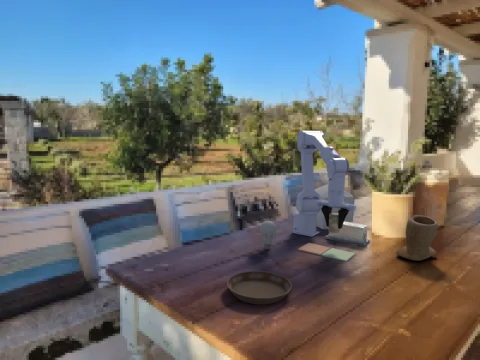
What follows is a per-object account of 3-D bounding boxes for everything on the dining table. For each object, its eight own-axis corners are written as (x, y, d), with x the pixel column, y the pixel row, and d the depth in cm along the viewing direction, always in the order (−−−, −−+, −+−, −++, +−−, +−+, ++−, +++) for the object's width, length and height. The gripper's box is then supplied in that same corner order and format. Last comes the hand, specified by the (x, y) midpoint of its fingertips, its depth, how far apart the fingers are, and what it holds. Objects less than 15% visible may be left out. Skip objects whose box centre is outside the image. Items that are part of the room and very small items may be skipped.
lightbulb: (274, 253, 130) (275, 223, 128) (258, 251, 131) (258, 222, 130) (276, 247, 136) (277, 219, 134) (260, 246, 137) (261, 218, 135)
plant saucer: (252, 274, 111) (253, 265, 111) (303, 291, 100) (303, 281, 100) (213, 294, 98) (213, 284, 97) (266, 316, 87) (267, 304, 86)
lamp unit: (325, 238, 148) (326, 222, 147) (331, 234, 154) (332, 218, 153) (363, 246, 139) (365, 229, 138) (369, 242, 144) (370, 225, 143)
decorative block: (306, 220, 177) (308, 180, 174) (334, 219, 181) (336, 180, 178) (323, 229, 161) (325, 186, 159) (353, 227, 166) (356, 184, 163)
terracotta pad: (298, 250, 134) (298, 248, 134) (308, 244, 141) (308, 242, 141) (320, 255, 128) (320, 254, 128) (330, 248, 135) (330, 247, 135)
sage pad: (321, 255, 128) (321, 254, 128) (331, 249, 135) (331, 247, 135) (346, 261, 123) (346, 260, 123) (355, 254, 130) (355, 253, 130)
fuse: (326, 231, 132) (327, 214, 131) (330, 229, 136) (331, 212, 135) (337, 233, 130) (338, 216, 129) (341, 231, 133) (342, 214, 132)
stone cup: (423, 266, 119) (427, 223, 117) (390, 256, 129) (393, 215, 127) (445, 258, 128) (450, 217, 126) (413, 248, 138) (417, 210, 135)
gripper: (313, 190, 132) (311, 225, 134) (351, 194, 123) (349, 233, 125) (321, 187, 137) (319, 222, 139) (358, 192, 129) (356, 228, 131)
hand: (334, 227), depth 133 cm, fingers closed on fuse, 4 cm apart
